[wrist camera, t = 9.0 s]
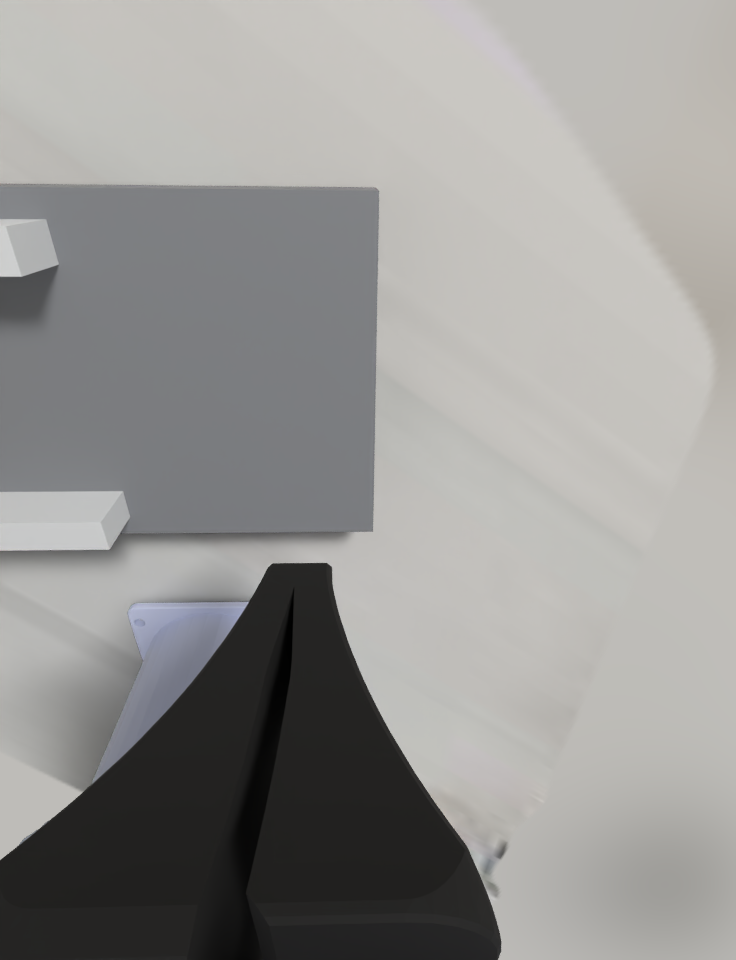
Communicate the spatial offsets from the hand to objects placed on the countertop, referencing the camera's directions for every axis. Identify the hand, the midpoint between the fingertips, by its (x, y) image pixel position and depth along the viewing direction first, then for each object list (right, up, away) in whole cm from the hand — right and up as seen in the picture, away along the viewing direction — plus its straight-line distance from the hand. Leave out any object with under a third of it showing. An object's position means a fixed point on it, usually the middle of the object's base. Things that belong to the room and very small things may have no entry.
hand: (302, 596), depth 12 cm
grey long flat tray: (-12, +7, +8) cm, 16 cm away
